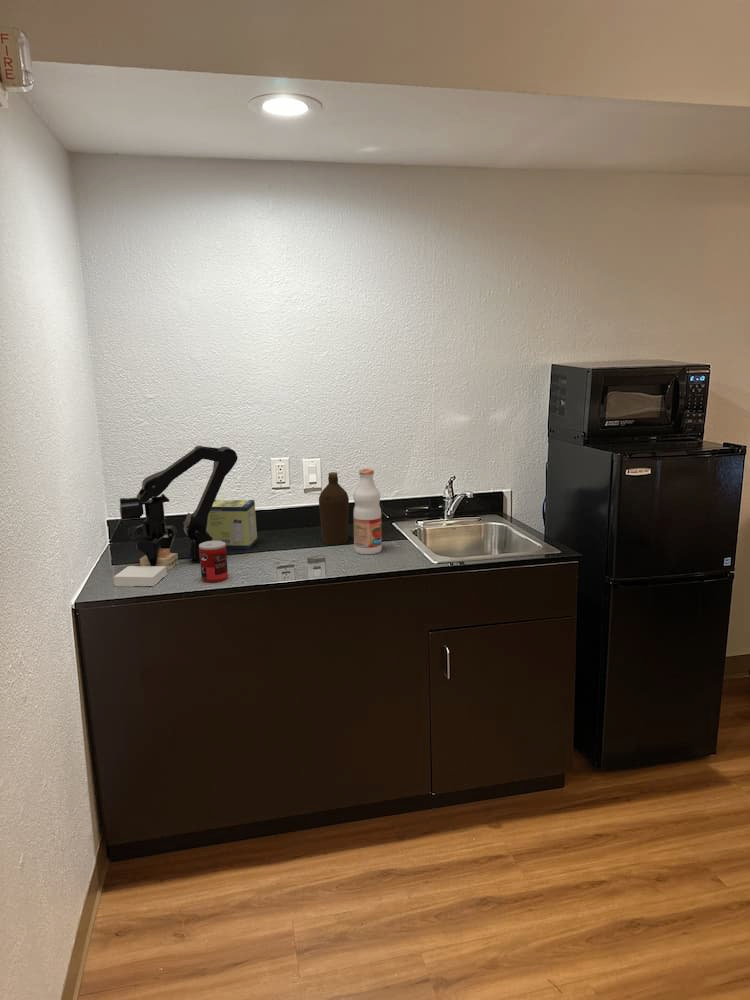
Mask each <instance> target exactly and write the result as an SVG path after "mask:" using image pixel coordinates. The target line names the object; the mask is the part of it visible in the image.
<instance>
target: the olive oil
mask: <svg viewBox="0 0 750 1000" xmlns="http://www.w3.org/2000/svg"><path fill="white" fill-rule="evenodd" d="M338 477H339V476H338V472H334V471H333V472H332V471H331V472H328V479H327V480H328V484H327V485H326V486H325V487H324V488H323V490H321V492H320V493H319V497H318V508H319V517H320V529H321V531H320V532H321V541H322V543H323V544H324V545H329V546H335V545H337V546H338V545H344V544H346V543H348V542H349V506H350V505H349V504H350V502H349V495H348V493H347V491H346V490H345V489H344V488H343V486H341V485H340V483H339V478H338Z"/></svg>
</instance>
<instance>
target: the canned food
mask: <svg viewBox="0 0 750 1000" xmlns="http://www.w3.org/2000/svg"><path fill="white" fill-rule="evenodd" d="M199 555H200V562H199V565H200V575H201V576H200V577H201V579H202V581H203V582H205V583H220V582H223V580H224V581H226V580H227V579H228V576H229V573H228V572H229V570H228V557H227V549H226V543H225V542H223V541H207V542H203V543H201V544H199Z"/></svg>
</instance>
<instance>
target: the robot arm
mask: <svg viewBox="0 0 750 1000" xmlns="http://www.w3.org/2000/svg"><path fill="white" fill-rule="evenodd" d="M202 460H208V461H212V462H213V465H212V466H213V467H212V472H211V474H210V477H209V479H208V481H207V483H206V486H205V489H204V490H203V493H202V494H201V497H200V499H199V502H198V504H197V507H196V509H195V510H194V511H193V512H192V513H190V512H187V515H186V518H185V520H184V521H183V523H182V524H183V530H184V533H185V534H186V536H187V538H189V539H190V540H191V542H190V546H189V555H190V560H189V561H190V563H200V555H199V544H201V543H203V542H207V541H212V539H213V538H212V537H211V536H210V534H209V533H208V532H207V531H206V527H207V520H208V514H209V512H210V510H211V508H212V505H213V503H214V501H215V500H216V498H217V496H218V494H219V491H220V489H221V487H222V484H223V483H224V479H225V478H226V476H227V475H228V474H229V473H230V472H231V470H232V469H233V468H234V466H235V464H237V461H238V454H237V452H236V451H235V450H234V449H232V448H230V447H228V446H221V447H218V448H217V447H212V446H209V447H208V446H203V445H196V446H195V447H194V448H193V449H191V450H190V451H189V452H188V453H186V454H185V455H183V456H182V457H180V458H179V459H178V460H176V461H175V462H173V463H171V464H170V465H169V466H168V467H167V468H165V469H163V470H160V471H158V472H155V473H153V474H151V475H149V476H147V477H145V478H144V479H143V480H142V483H141V488H140V490H139V492H138V493H137V495H136V497H128V498H126V497H122V498H121V497H120V498H119V514H120V515H119V516H120V519H121V521H127V520H136V519H140V518H141V517H142V516H143V515H144V514H145V520H143V522H142V524H139V525H138V526H136V525H133V526H131V527H129V528H128V530H127V536H128V537H130V538H131V539H132V540H136V539H137V538H139V537H142V538H140V539H139V540H137V542H135V549H136V550H138V551H140V552H142V553H143V554H145V555H146V556H147V558H148V560H149V562H150V564H151V566H156V564H157V559H158V555H159V551H160V548H169V549H170V550H171V547H172V545H173V543H174V541H175V538H176V535H177V534H178V530H177V527H175V526H174V525H166V523H167V521H168V517H165V507H164V503H170V499H169V497H167V496H166V495H165V494H164V491H165V490H167V488H168V487H169V486H170V485H171V483H172V482H173V481H174V480H175V479H177V478H179V477H180V476H181V475H182V474H184V473H185V472H186V471H188V470H189V469H191V468H192V467H194V466H195V465H197V464H198V463H199V462H201V461H202ZM144 512H145V513H144Z"/></svg>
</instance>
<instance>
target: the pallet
mask: <svg viewBox="0 0 750 1000" xmlns="http://www.w3.org/2000/svg"><path fill="white" fill-rule="evenodd" d="M178 555H179V554H178V553H174V552H170V555H169V556H168V557H166V558H158V559H157V564H156V566H166V569H171V568H172V569H173V568H175V567H176V565H175V564H177V565H178V564H179V556H178ZM139 566H151V564H150V562H149V560H148V558H147V556H146V554H145V555H143V556H142V557H140V558H139ZM172 566H173V567H172ZM174 566H175V567H174ZM172 569H171V570H172Z"/></svg>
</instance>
